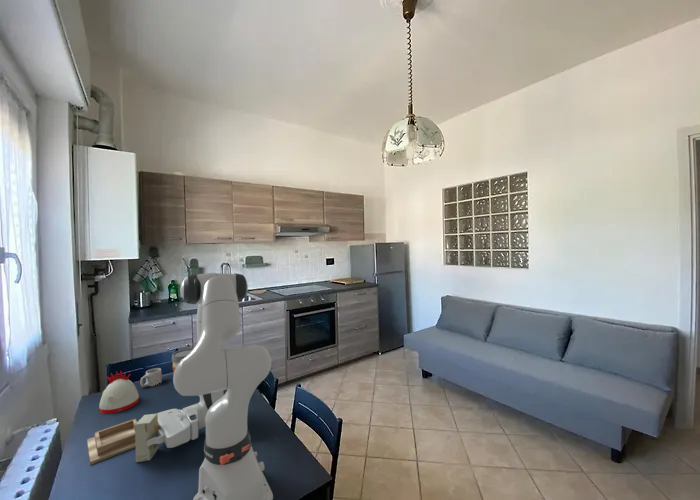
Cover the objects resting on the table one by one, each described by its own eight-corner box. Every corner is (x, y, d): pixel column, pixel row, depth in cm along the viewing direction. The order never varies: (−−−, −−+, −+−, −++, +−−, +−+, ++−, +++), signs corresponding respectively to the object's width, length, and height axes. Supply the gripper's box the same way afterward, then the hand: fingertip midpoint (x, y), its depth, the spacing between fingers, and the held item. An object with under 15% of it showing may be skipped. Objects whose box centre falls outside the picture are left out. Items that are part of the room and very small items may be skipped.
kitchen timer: (103, 402, 135) (102, 369, 135) (140, 394, 142) (139, 363, 142) (95, 417, 123) (94, 381, 123) (136, 407, 130) (135, 373, 130)
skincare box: (150, 461, 97) (148, 423, 97) (135, 463, 96) (134, 425, 96) (159, 447, 103) (158, 412, 103) (145, 449, 102) (144, 414, 102)
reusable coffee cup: (169, 381, 155) (168, 352, 155) (196, 373, 164) (195, 346, 164) (175, 389, 146) (174, 358, 146) (203, 381, 155) (202, 352, 154)
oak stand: (149, 441, 107) (149, 431, 107) (90, 464, 96) (89, 454, 95) (141, 423, 118) (140, 414, 118) (87, 442, 107) (86, 432, 107)
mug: (155, 379, 158) (155, 367, 157) (164, 381, 155) (164, 368, 155) (136, 388, 148) (135, 375, 148) (145, 390, 146) (145, 376, 146)
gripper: (181, 400, 116) (137, 415, 106) (198, 422, 101) (150, 441, 92) (181, 416, 116) (138, 432, 106) (199, 440, 101) (150, 461, 92)
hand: (143, 436), depth 99 cm, fingers closed on skincare box, 7 cm apart
